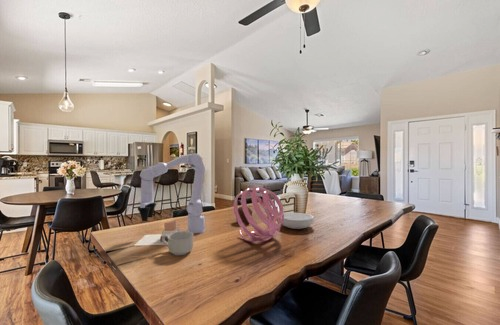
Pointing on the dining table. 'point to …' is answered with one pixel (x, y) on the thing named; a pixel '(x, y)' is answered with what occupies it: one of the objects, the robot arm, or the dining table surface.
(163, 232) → the cream block
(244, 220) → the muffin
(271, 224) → the pink lattice sphere
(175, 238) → the teacup
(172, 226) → the terracotta block
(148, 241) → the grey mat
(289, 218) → the serving bowl
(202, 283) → the dining table surface
